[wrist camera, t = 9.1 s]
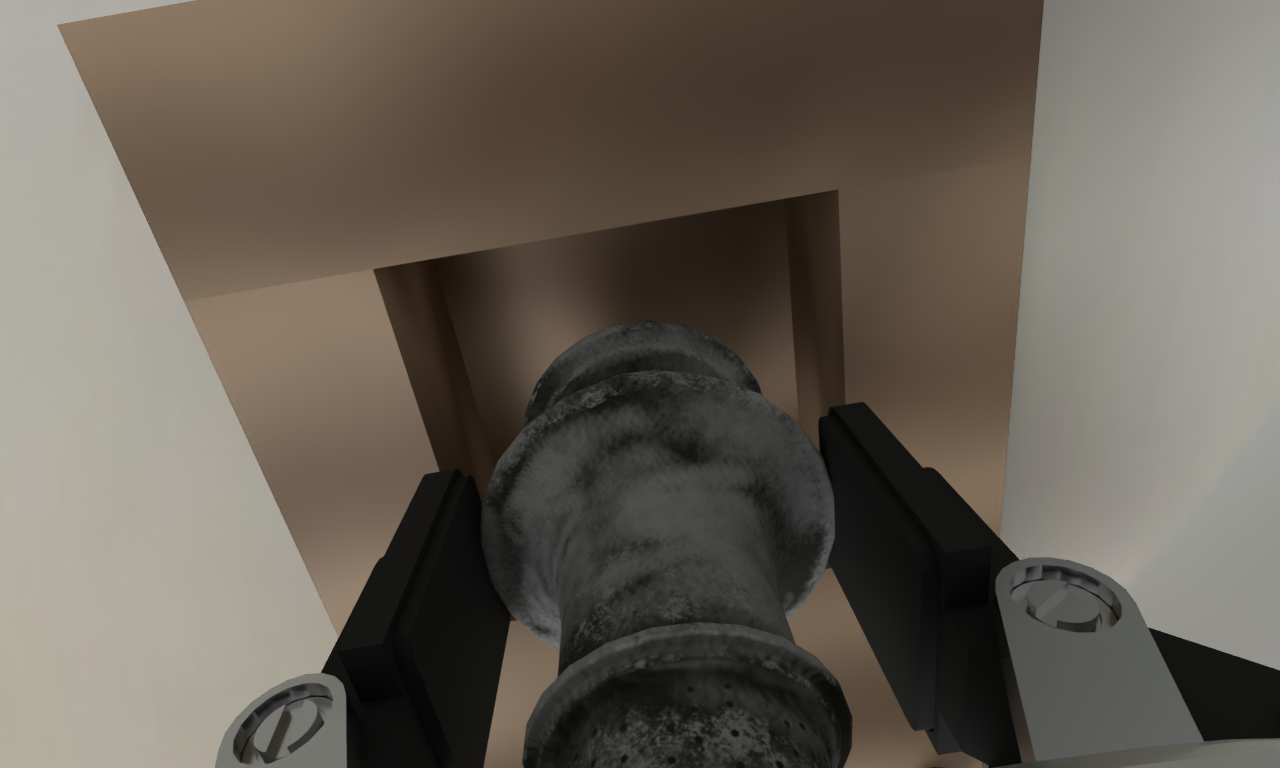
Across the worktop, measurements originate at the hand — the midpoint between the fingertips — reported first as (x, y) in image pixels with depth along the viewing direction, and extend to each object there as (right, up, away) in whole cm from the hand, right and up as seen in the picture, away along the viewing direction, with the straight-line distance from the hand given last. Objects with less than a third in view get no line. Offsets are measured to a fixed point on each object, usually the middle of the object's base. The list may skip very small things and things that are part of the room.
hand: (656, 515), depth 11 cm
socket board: (0, 0, +8) cm, 8 cm away
